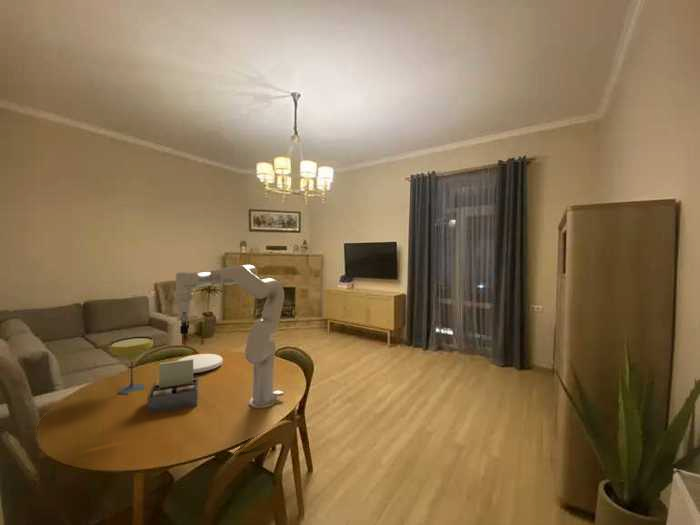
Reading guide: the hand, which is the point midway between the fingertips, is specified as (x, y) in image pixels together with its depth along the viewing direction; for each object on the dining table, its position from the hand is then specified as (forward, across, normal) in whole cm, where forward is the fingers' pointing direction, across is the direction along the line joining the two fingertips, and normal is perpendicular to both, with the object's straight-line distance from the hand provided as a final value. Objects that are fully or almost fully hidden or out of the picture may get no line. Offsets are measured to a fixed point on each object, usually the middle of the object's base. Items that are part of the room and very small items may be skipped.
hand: (184, 331), depth 143 cm
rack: (+32, +8, -4) cm, 33 cm away
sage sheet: (+31, +4, -3) cm, 32 cm away
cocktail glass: (+32, -18, -25) cm, 44 cm away
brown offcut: (+31, +12, -8) cm, 35 cm away
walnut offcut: (+32, +12, +1) cm, 34 cm away
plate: (+33, -36, +6) cm, 49 cm away
